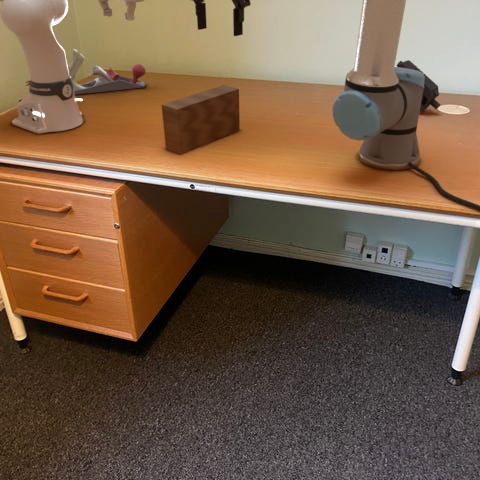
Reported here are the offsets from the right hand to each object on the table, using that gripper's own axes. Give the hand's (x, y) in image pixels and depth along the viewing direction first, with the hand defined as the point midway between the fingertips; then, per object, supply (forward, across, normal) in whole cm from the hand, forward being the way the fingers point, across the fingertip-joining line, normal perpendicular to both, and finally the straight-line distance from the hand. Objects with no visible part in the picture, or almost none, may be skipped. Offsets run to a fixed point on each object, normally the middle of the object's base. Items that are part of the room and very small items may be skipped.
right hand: (219, 32), depth 144 cm
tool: (+28, +32, +53) cm, 68 cm away
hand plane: (+28, -64, +4) cm, 70 cm away
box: (+28, 0, -8) cm, 29 cm away
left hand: (-5, -16, -21) cm, 27 cm away
